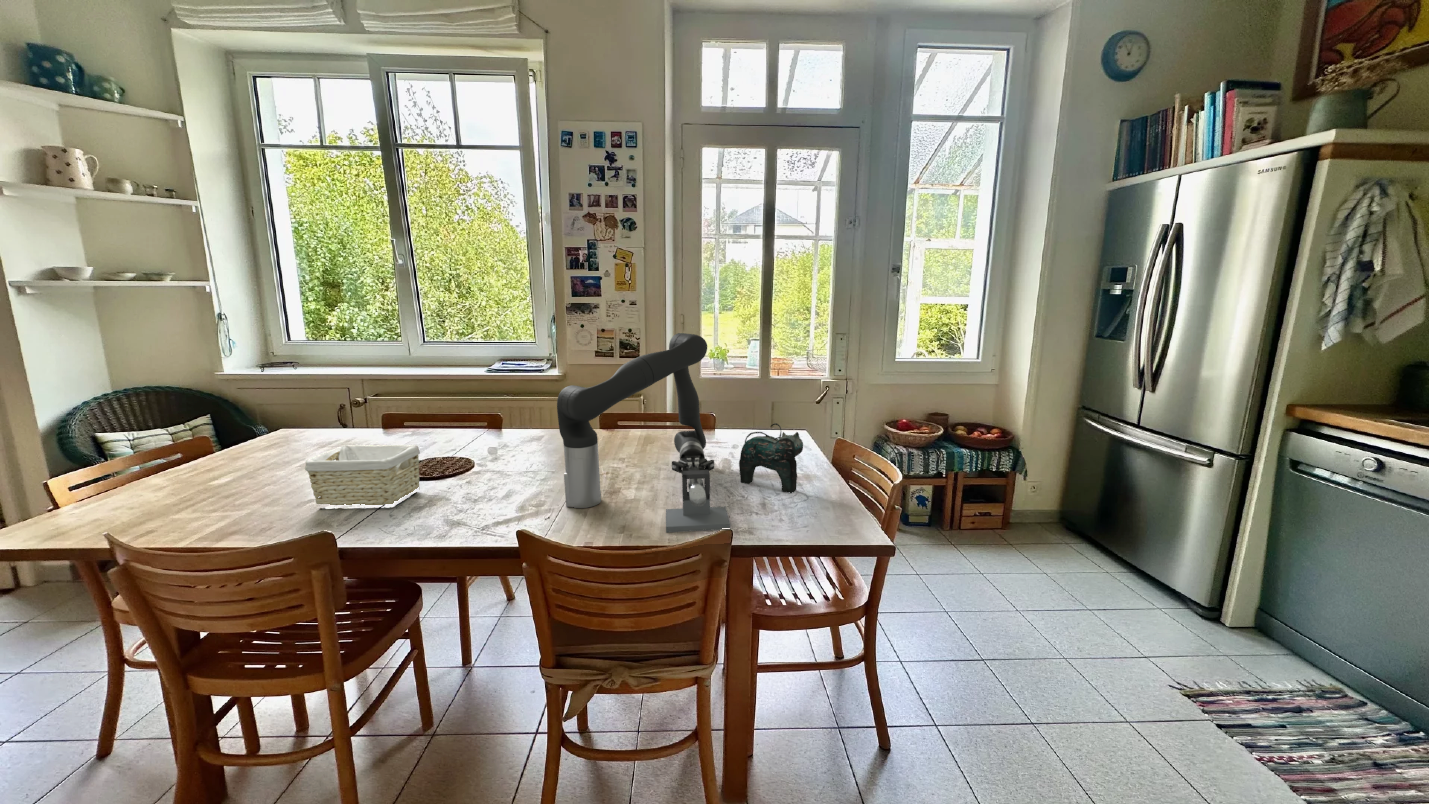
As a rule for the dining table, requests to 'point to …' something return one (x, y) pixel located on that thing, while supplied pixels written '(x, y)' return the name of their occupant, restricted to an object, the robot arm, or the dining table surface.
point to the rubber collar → (695, 475)
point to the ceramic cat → (771, 457)
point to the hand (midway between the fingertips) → (694, 475)
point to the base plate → (696, 518)
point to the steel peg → (696, 492)
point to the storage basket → (364, 474)
